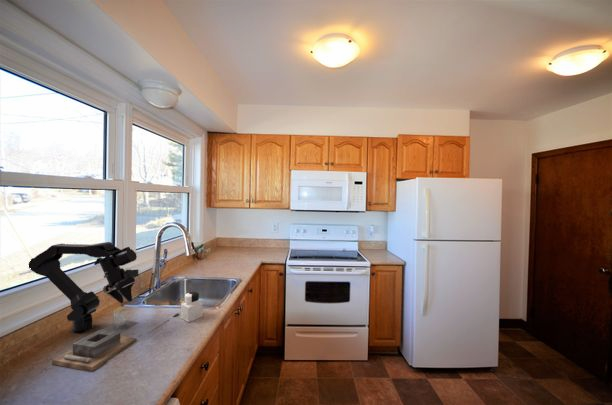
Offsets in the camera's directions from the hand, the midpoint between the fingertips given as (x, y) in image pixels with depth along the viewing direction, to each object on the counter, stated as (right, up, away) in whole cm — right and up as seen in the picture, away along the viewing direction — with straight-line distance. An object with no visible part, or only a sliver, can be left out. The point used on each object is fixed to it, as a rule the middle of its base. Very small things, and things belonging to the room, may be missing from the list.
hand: (126, 302), depth 107 cm
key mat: (-4, -12, +1) cm, 13 cm away
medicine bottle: (+24, -12, +11) cm, 29 cm away
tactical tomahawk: (+15, -13, +3) cm, 20 cm away
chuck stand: (+1, -12, -16) cm, 20 cm away
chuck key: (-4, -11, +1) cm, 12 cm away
